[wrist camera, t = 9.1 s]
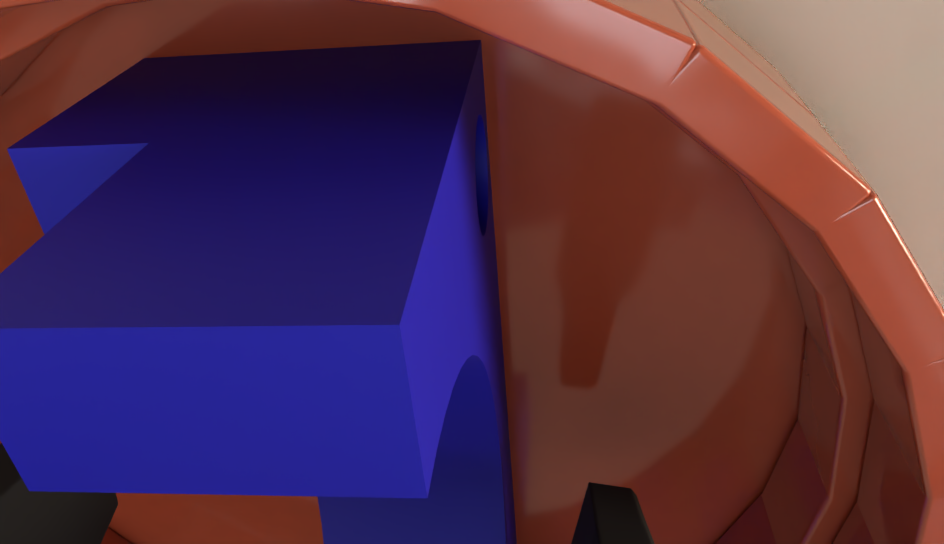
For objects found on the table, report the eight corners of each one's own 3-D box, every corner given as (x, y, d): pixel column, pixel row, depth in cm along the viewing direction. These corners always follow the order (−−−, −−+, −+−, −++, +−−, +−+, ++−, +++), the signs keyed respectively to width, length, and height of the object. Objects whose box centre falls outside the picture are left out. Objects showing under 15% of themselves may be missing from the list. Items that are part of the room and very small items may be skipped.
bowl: (1069, -43, 9) (1379, 58, 6) (699, 679, 18) (734, 888, 14) (-245, -218, 9) (-705, -220, 6) (31, 579, 18) (-89, 761, 15)
